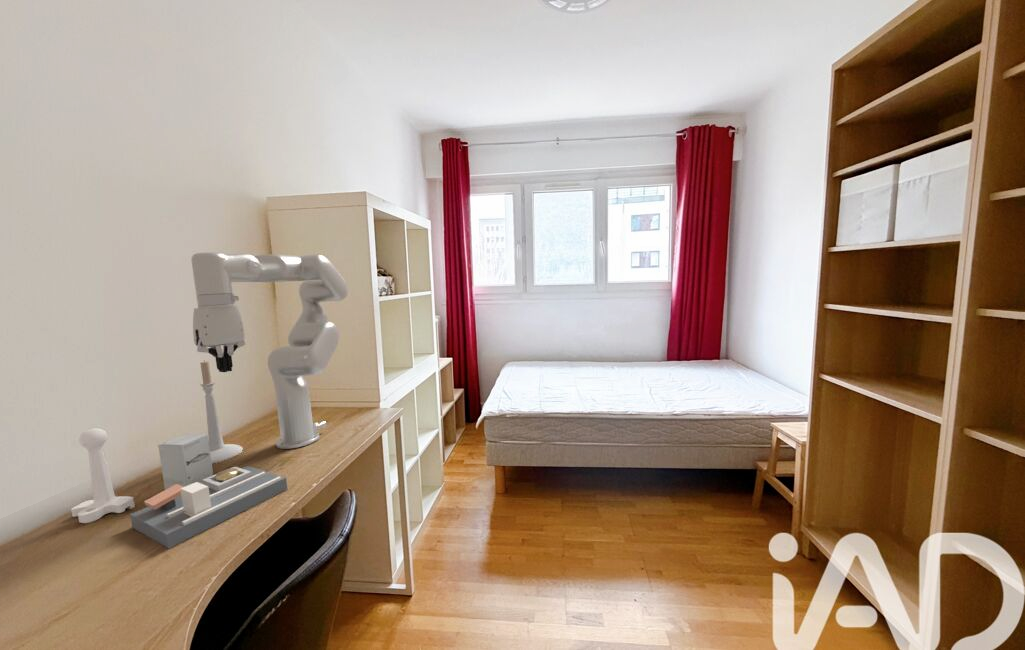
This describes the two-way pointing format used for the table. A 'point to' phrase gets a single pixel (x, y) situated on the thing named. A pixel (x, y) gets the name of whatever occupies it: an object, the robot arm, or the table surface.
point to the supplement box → (185, 460)
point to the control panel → (226, 502)
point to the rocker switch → (164, 497)
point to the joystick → (99, 482)
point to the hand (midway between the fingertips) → (225, 371)
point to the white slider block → (195, 498)
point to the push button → (226, 475)
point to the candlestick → (215, 422)
